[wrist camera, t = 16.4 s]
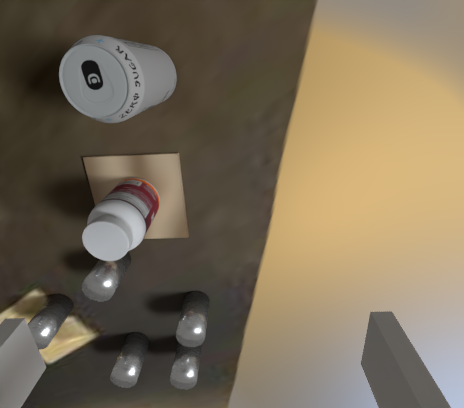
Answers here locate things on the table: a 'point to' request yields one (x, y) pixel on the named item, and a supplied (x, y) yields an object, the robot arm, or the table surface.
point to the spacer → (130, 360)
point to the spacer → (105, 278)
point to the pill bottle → (121, 219)
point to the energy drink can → (115, 77)
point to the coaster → (156, 173)
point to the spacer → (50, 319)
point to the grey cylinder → (185, 366)
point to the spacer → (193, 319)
